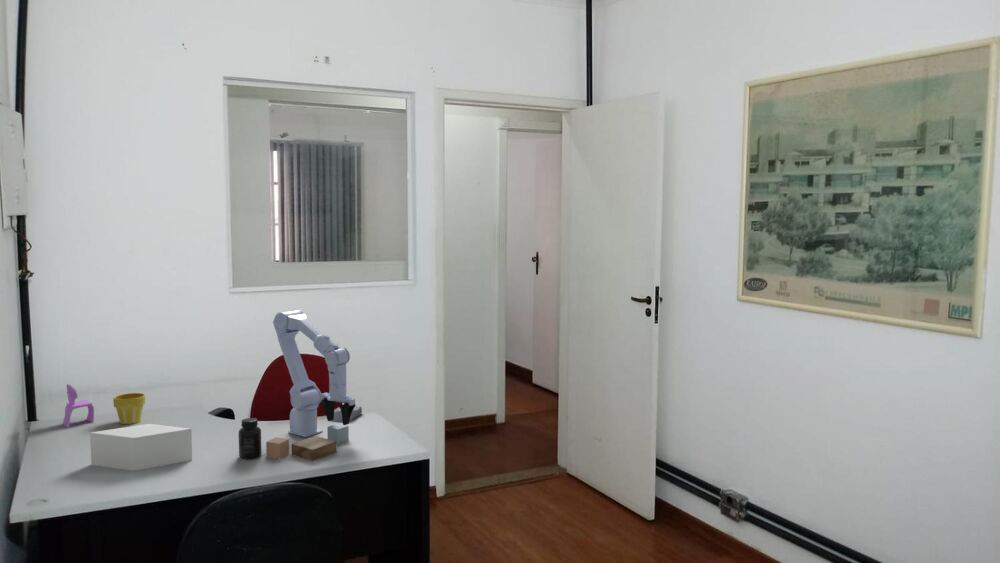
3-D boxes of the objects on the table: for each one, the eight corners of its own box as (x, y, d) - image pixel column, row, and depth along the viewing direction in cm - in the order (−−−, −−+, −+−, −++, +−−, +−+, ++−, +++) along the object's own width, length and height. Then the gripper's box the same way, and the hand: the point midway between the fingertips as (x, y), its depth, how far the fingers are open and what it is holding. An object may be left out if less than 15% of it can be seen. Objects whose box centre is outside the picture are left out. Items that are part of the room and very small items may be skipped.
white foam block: (186, 468, 212) (185, 435, 211) (81, 473, 206) (80, 440, 205) (197, 452, 226) (196, 421, 225) (100, 457, 220) (99, 425, 219)
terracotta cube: (266, 457, 223) (266, 441, 222) (276, 452, 227) (276, 437, 227) (279, 459, 221) (279, 443, 221) (289, 454, 226) (289, 439, 225)
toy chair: (96, 422, 256) (94, 382, 254) (69, 428, 249) (67, 387, 248) (87, 418, 261) (86, 379, 260) (61, 423, 254) (59, 383, 253)
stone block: (327, 425, 264) (351, 422, 261) (325, 412, 264) (349, 409, 261) (341, 417, 275) (364, 414, 273) (338, 405, 275) (362, 402, 273)
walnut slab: (291, 455, 225) (291, 443, 224) (315, 447, 233) (315, 435, 233) (313, 462, 219) (312, 449, 219) (336, 453, 228) (336, 441, 227)
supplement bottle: (266, 454, 225) (265, 418, 224) (252, 461, 218) (251, 423, 217) (248, 451, 227) (247, 415, 226) (234, 458, 220) (233, 421, 219)
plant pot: (121, 418, 262) (120, 392, 261) (150, 417, 263) (149, 392, 262) (109, 426, 252) (108, 399, 251) (139, 425, 253) (138, 399, 252)
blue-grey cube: (327, 441, 239) (327, 426, 239) (338, 437, 244) (338, 423, 243) (337, 443, 237) (337, 429, 236) (348, 440, 241) (348, 425, 240)
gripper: (314, 382, 239) (314, 421, 240) (343, 388, 231) (344, 428, 232) (330, 379, 245) (330, 416, 246) (359, 384, 237) (359, 423, 238)
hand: (338, 422), depth 239 cm, fingers open, 7 cm apart
